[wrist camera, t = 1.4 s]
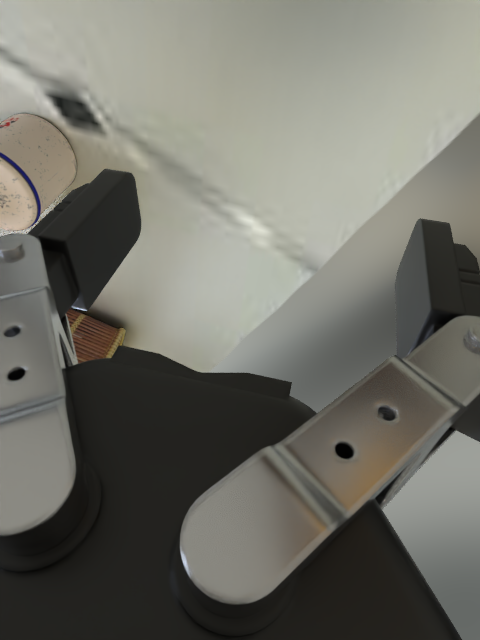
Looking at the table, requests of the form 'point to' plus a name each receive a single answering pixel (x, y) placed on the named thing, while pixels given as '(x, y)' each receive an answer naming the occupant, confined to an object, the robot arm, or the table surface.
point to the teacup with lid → (31, 169)
